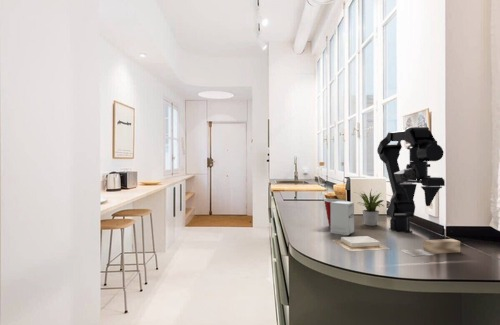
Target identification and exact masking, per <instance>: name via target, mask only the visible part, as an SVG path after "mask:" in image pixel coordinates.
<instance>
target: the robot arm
mask: <svg viewBox="0 0 500 325" xmlns="http://www.w3.org/2000/svg"><path fill="white" fill-rule="evenodd" d="M402 141H405V142H406V143H409V145H408V146H407V148H406V149H407V150H409V163H408V164H406V167H405V168H404V169H402V170H401V169H400V167H399V161H398V159H399V156H400V151H401V150H402V148H403V146H402ZM391 142H397V143H391ZM376 151H377V154H378V156H379V159H380V160H381V161H382V162H383V163H384V164H385V167H386V172H387V176H388V178H389V179H388V180H389V184H390V187H391V193H392V195H391V197H390V204H389V206H388V208H387V210H386V212H387V216H389V217H391V218H390V220H389V228H388V230H391V231H393V232H397V233H406V234H407V233H413V230H411V228H410V227H411V223H410V222H411V218H414V215H415V210H416V204H415V200H414V198H415V193H416V189H417V184H421V185H422V186H420V187H421V189H422V190H423V192H424V202H425V206H426V207H430V206H431V205H432V202H433V200H434V199H435V196H437V194H438V193H439V190H440V189H442V188H443V187H445V186H446V184H445V179H444V178H443V177H438V176H437V177H436V176H434V177H433V176H431V175H429V174H428V168H431V164H430V163H428V162H437V161H439V160H440V161H441V159H442V158H443V157H444V150H443V148H442V146H441V145H439V144H438V141H437V139H435V136H434V135H433V133H432V131H431V130H430V128H429V127H427V126H416V127H415V126H410V127H408V128H405V130H402V131H401V130H400V131H389V132H387V135H386V137H384V138H383V139H382V140H380V141H379V144H378V147H377V150H376Z"/></svg>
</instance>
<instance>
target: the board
mask: <svg viewBox="0 0 500 325" xmlns="http://www.w3.org/2000/svg"><path fill="white" fill-rule="evenodd" d="M332 241H333V242H334V243H336V244H338V245H339V246H340V247H342V248H344V249H345V250H347V251H349V252H359V251H360V252H361V251H380V250H391V248H389V247H388V246H386V245H384V244H381V243H380V246H379V247H359V248H351V247H350V246H348V245H346V244H345V243H343V242H342V241H341V239H332Z"/></svg>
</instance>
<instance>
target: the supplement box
mask: <svg viewBox="0 0 500 325" xmlns="http://www.w3.org/2000/svg"><path fill="white" fill-rule="evenodd" d="M345 201H346V200H345ZM345 201H336V202H332V203H331V204H330V206H331V227H330V233H331V234H336V235H344V236H349V235H351V234H353V233H355V202H354V201H348V202H345Z"/></svg>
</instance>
